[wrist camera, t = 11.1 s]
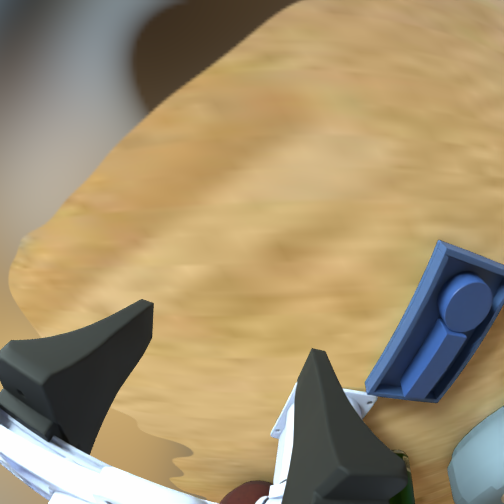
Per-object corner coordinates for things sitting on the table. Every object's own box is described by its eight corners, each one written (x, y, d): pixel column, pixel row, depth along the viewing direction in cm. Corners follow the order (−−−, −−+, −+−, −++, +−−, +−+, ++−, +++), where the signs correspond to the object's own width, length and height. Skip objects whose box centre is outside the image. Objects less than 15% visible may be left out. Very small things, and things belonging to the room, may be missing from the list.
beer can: (393, 444, 28) (403, 531, 17) (415, 454, 29) (426, 533, 18) (358, 462, 30) (359, 545, 19) (381, 471, 31) (386, 546, 20)
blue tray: (433, 391, 24) (437, 403, 23) (364, 382, 25) (366, 394, 23) (508, 266, 19) (518, 275, 17) (438, 239, 19) (446, 248, 18)
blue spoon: (427, 383, 24) (433, 400, 22) (388, 378, 24) (393, 396, 22) (491, 278, 19) (503, 291, 17) (451, 264, 19) (464, 278, 17)
